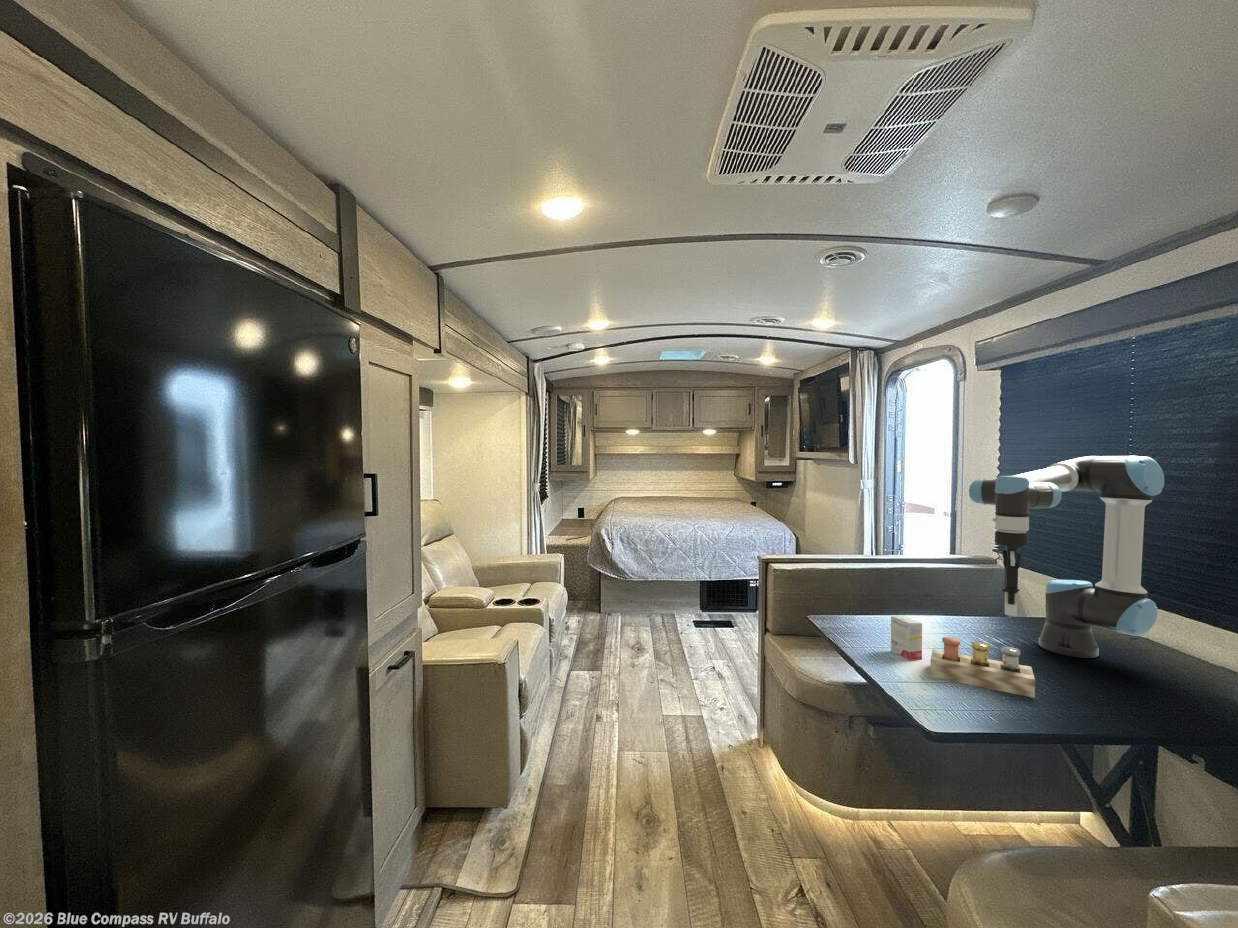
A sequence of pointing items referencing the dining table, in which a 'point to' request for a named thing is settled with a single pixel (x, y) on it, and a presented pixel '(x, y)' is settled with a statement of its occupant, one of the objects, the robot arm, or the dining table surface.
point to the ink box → (906, 637)
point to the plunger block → (983, 674)
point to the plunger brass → (980, 653)
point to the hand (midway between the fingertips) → (1010, 614)
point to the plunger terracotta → (951, 648)
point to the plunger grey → (1010, 659)
